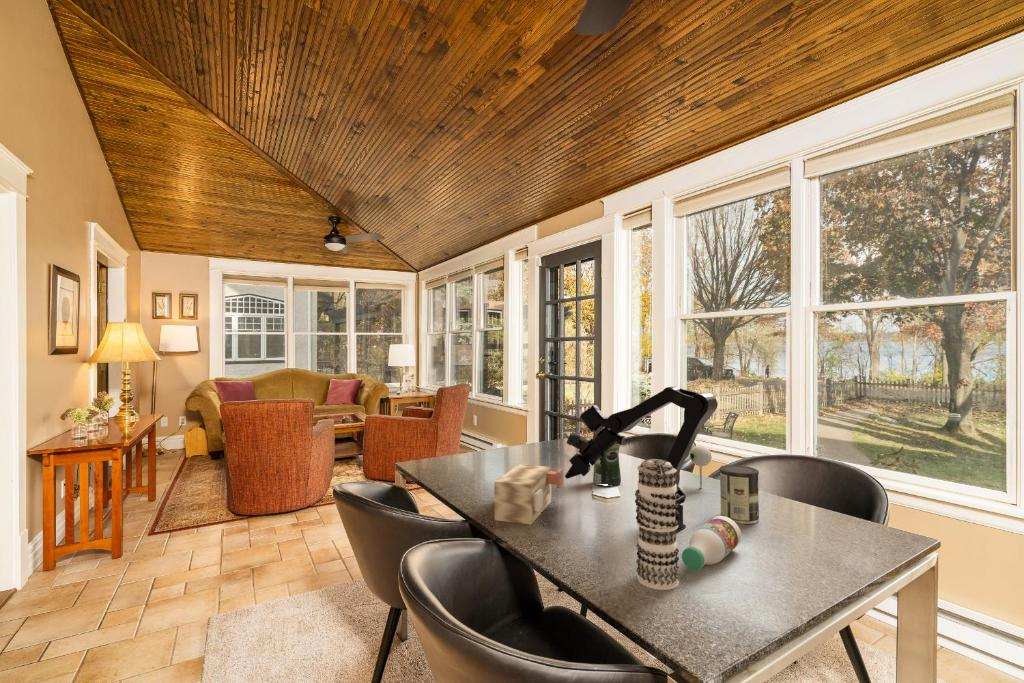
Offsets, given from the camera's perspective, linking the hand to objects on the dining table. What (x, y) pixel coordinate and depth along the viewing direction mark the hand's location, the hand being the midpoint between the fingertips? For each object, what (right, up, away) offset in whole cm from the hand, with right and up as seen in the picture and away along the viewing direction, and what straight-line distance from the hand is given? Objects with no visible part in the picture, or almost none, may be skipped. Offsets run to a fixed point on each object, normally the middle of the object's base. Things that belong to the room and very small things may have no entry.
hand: (565, 477), depth 148 cm
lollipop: (+50, -9, +18) cm, 54 cm away
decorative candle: (+14, -8, -48) cm, 50 cm away
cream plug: (-14, -5, -11) cm, 19 cm away
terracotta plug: (-7, -3, +3) cm, 8 cm away
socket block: (-13, -9, -3) cm, 16 cm away
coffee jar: (+18, -10, +25) cm, 32 cm away
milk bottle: (+36, -4, -31) cm, 48 cm away
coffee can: (+49, -9, -11) cm, 51 cm away
